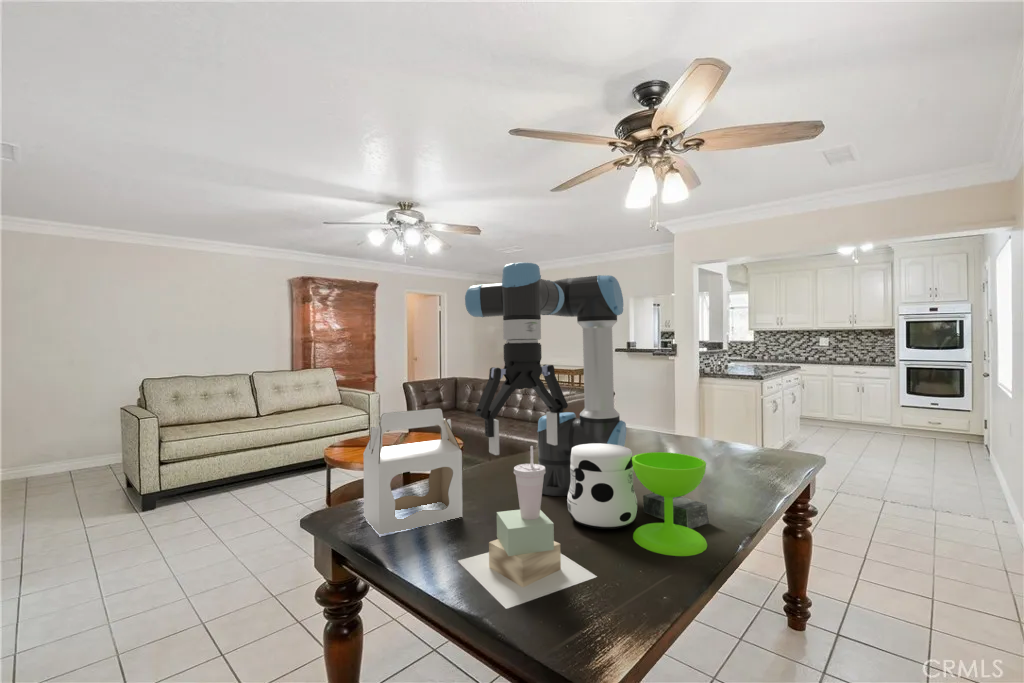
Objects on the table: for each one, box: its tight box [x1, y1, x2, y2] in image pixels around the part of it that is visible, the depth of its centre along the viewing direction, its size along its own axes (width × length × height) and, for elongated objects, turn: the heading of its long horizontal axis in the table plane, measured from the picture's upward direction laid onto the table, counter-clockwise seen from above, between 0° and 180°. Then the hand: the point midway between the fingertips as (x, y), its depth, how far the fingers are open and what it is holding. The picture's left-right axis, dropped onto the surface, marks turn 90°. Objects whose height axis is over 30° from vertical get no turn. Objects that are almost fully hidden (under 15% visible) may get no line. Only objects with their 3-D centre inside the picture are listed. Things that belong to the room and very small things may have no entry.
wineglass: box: [632, 451, 708, 557], centre depth 103 cm, size 16×16×18 cm
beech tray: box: [488, 538, 562, 587], centre depth 89 cm, size 10×10×5 cm
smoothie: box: [513, 445, 546, 520], centre depth 90 cm, size 6×6×14 cm
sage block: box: [496, 509, 555, 556], centre depth 89 cm, size 9×9×5 cm
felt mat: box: [457, 551, 598, 610], centre depth 89 cm, size 20×20×1 cm
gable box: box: [363, 407, 463, 534], centre depth 117 cm, size 22×13×28 cm, turn 123°
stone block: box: [642, 492, 710, 530], centre depth 116 cm, size 9×14×5 cm, turn 28°
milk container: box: [566, 443, 638, 530], centre depth 114 cm, size 17×17×18 cm
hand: (524, 448), depth 90 cm, fingers open, 13 cm apart
